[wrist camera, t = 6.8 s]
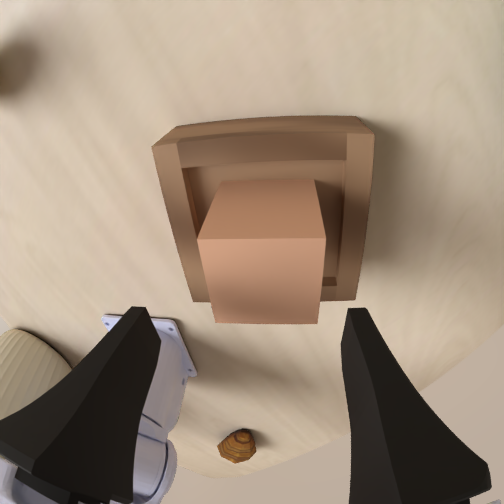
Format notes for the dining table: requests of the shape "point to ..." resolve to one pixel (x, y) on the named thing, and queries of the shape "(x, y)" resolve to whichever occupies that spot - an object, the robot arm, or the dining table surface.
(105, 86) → the dining table surface
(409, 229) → the dining table surface
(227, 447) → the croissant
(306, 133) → the walnut base
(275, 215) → the block
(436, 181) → the dining table surface
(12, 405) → the canister
